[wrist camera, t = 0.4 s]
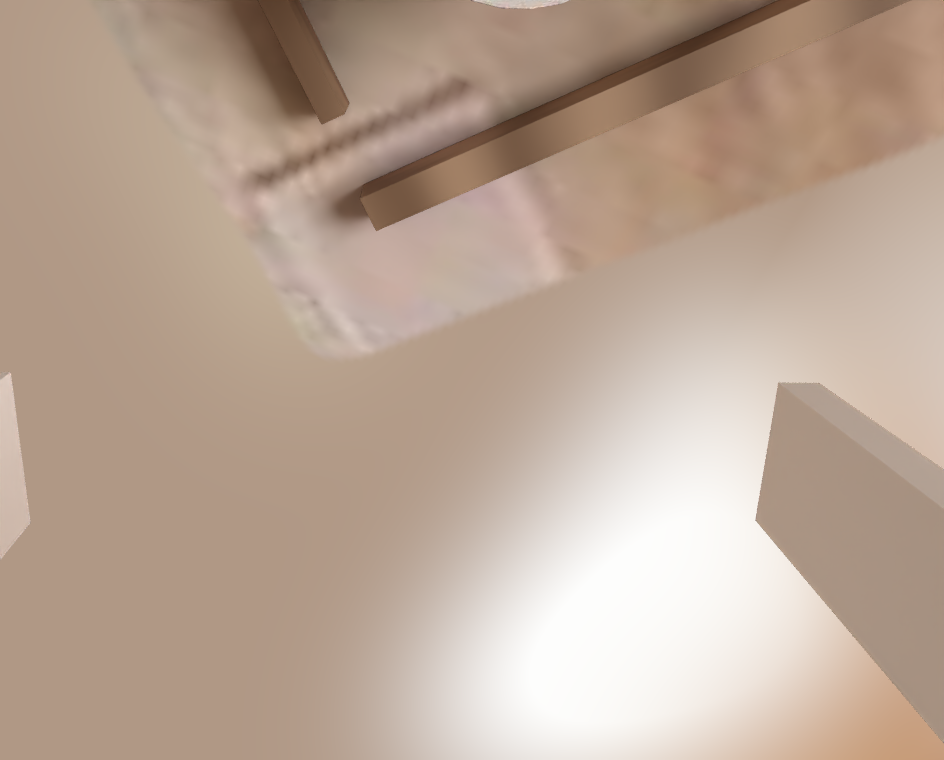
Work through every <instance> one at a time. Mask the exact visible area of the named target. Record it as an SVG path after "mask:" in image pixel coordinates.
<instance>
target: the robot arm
mask: <svg viewBox="0 0 944 760" xmlns="http://www.w3.org/2000/svg"><path fill="white" fill-rule="evenodd" d="M756 521H757V523H758V524H759V525H760V526H761V527H762V529H763V530H764V531H765V532H766V533H767V534H768V536H769V537H770V538H771V539H772V540H773V542H774V543H775V544H776V545H777V546H778V548H779V549H780V550H781V551H782V552H783V553H784V555H785V556H786V557H787V558H788V559H789V560H790V562H791V563H792V564H793V565H794V567H796V569H797V570H798V571H799V572H800V574H801V575H802V576H803V577H804V578H805V580H806V581H807V582H808V583H809V584H810V585H811V587H812V588H813V589H814V590H815V591H816V593H817V594H818V595H819V596H820V597H821V599H822V600H823V601H824V602H825V603H826V604H827V606H828V607H829V608H830V609H831V610H832V612H833V613H834V614H835V615H836V616H837V617H838V619H839V620H840V621H841V622H842V623H843V625H844V626H845V627H846V628H847V629H848V631H849V632H850V633H851V634H852V635H853V636H854V638H856V640H857V641H858V642H859V644H860V645H861V646H862V647H863V648H864V649H865V651H866V652H867V653H868V654H869V655H870V657H871V658H872V659H873V660H874V661H875V663H876V664H877V665H878V666H879V667H880V668H881V670H882V671H883V672H884V673H885V674H886V676H887V677H888V678H889V679H890V680H891V681H892V683H893V684H894V685H895V686H896V687H897V689H898V690H899V691H900V692H901V693H902V695H903V696H904V697H905V698H906V699H907V700H908V701H909V703H910V704H911V705H912V706H913V707H914V709H915V710H916V711H917V712H918V713H919V714H920V716H921V717H922V718H923V719H924V721H925V722H926V723H927V724H928V725H929V726H930V728H931V729H932V730H933V731H934V732H935V734H936V735H937V736H938V737H939V738H940V740H941V741H942V742H943V743H944V469H942V468H941V467H940V466H938V465H937V464H935V463H934V462H932V461H931V460H929V459H928V458H927V457H925V456H923V455H922V454H921V453H919V452H918V451H916V450H915V449H913V448H912V447H911V446H909V445H908V444H906V443H905V442H903V441H902V440H901V439H899V438H898V437H896V436H895V435H893V434H892V433H890V432H889V431H887V430H886V429H885V428H883V427H882V426H880V425H879V424H877V423H876V422H875V421H873V420H872V419H870V418H869V417H867V416H866V415H864V414H863V413H862V412H860V411H859V410H857V409H856V408H854V407H853V406H851V405H850V404H849V403H847V402H846V401H844V400H843V399H841V398H840V397H838V396H837V395H836V394H834V393H833V392H831V391H830V390H828V389H827V388H825V387H824V386H823V385H821V384H820V383H778V388H777V395H776V401H775V407H774V412H773V418H772V424H771V430H770V436H769V442H768V448H767V454H766V460H765V466H764V472H763V478H762V484H761V490H760V496H759V502H758V508H757V514H756ZM29 524H30V516H29V508H28V501H27V493H26V486H25V478H24V470H23V463H22V455H21V449H20V441H19V433H18V426H17V418H16V410H15V402H14V396H13V387H12V380H11V373H10V372H0V559H1V558H2V557H3V556H4V554H5V553H6V552H7V551H8V549H9V548H10V547H11V546H12V545H13V543H14V542H15V541H16V540H17V539H18V537H19V536H20V535H21V534H22V532H23V531H24V530H25V528H27V526H28V525H29Z"/></svg>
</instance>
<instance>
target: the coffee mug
mask: <svg viewBox="0 0 944 760" xmlns="http://www.w3.org/2000/svg"><path fill="white" fill-rule="evenodd" d="M471 1H474V2H478V3H482V4H486V5H490V6H494V7H498V8H508V9H535V8H541V7H546V6H552V5H557V4H562V3H564V2H567V1H569V0H471Z"/></svg>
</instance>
